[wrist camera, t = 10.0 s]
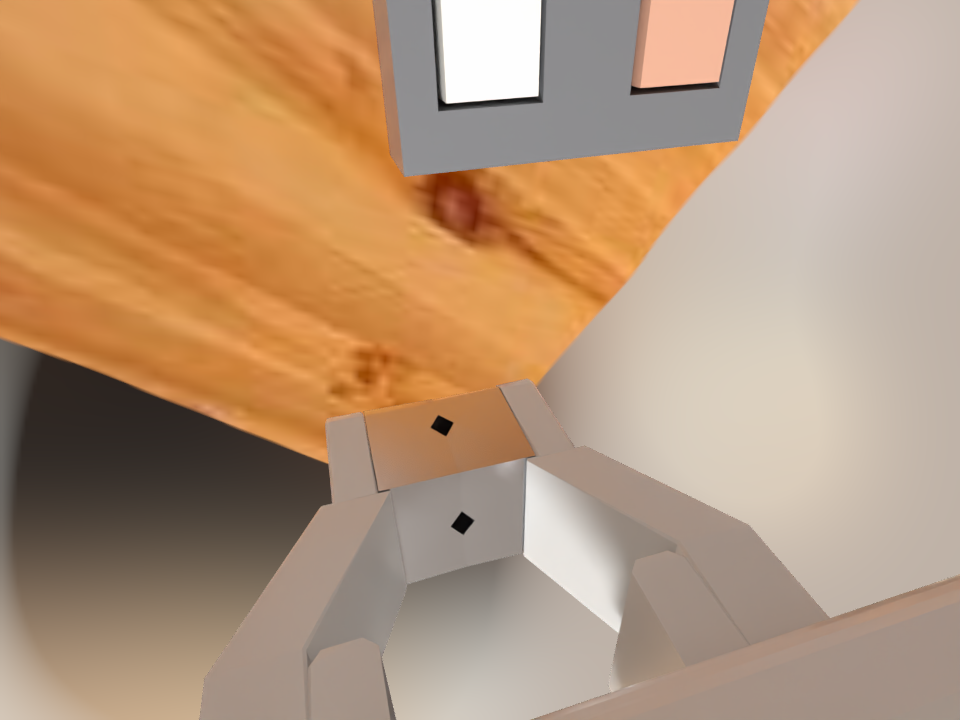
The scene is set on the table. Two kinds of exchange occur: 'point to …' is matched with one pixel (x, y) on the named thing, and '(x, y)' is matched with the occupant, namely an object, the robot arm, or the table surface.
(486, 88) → the white key
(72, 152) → the table surface
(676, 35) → the terracotta key
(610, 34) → the console
